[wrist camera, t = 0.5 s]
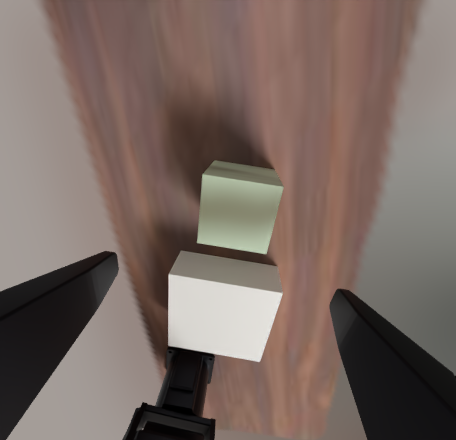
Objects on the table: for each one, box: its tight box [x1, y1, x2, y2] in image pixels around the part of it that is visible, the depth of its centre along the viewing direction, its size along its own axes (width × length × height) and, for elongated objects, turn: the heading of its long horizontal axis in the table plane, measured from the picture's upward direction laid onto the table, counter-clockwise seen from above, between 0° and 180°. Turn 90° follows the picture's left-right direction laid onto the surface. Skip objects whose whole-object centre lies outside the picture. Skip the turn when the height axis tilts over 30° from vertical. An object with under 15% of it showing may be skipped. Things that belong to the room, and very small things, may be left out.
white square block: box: [168, 251, 283, 362], centre depth 22 cm, size 10×10×4 cm
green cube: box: [197, 160, 284, 254], centre depth 16 cm, size 5×5×5 cm
